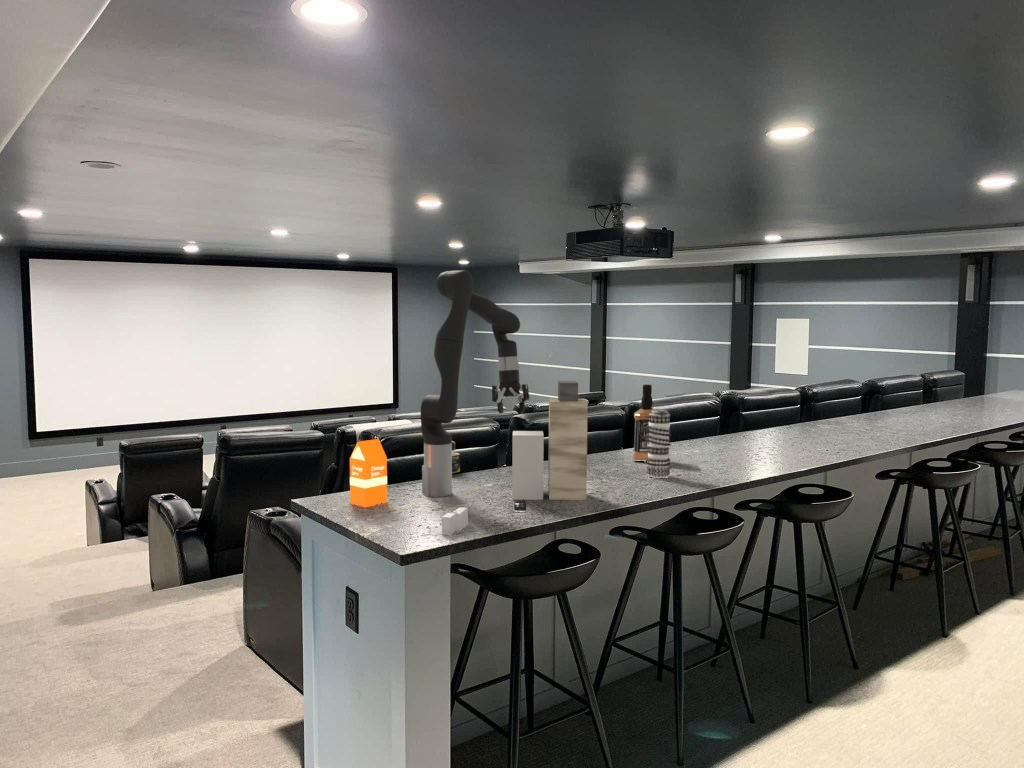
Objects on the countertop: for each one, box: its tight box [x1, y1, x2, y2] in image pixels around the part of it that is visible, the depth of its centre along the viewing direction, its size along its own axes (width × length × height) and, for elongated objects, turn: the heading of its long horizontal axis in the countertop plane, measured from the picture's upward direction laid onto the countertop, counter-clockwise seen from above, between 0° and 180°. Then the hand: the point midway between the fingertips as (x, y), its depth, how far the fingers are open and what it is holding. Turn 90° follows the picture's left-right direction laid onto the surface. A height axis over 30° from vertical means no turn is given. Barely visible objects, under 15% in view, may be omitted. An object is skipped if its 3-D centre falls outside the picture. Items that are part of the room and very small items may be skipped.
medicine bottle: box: [452, 440, 461, 474], centre depth 281 cm, size 7×7×12 cm
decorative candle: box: [646, 409, 672, 477], centre depth 274 cm, size 9×9×25 cm
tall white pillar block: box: [511, 430, 545, 501], centre depth 241 cm, size 10×10×21 cm
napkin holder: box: [441, 506, 469, 536], centre depth 202 cm, size 15×11×6 cm
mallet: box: [557, 380, 579, 401], centre depth 245 cm, size 19×6×6 cm, turn 179°
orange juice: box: [349, 438, 388, 508], centre depth 231 cm, size 8×9×20 cm
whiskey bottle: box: [632, 384, 654, 461], centre depth 307 cm, size 10×10×32 cm
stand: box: [547, 398, 589, 501], centre depth 241 cm, size 10×12×32 cm
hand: (511, 412), depth 271 cm, fingers open, 8 cm apart
